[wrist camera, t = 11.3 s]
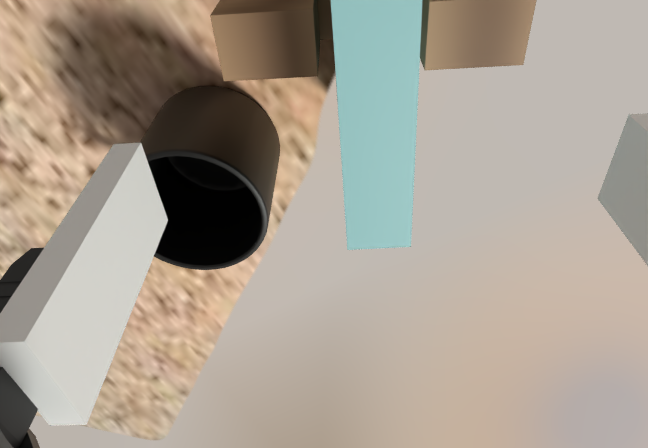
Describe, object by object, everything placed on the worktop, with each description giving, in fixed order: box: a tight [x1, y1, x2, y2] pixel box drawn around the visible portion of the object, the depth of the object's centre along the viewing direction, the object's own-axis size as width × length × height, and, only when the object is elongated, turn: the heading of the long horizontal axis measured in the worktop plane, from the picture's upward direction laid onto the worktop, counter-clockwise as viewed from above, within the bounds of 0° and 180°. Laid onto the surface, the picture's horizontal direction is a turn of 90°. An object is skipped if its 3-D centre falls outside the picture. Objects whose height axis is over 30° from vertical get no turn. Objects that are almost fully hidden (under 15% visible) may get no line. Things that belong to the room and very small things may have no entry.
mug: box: [140, 86, 280, 270], centre depth 33 cm, size 9×12×9 cm
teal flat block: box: [331, 0, 422, 250], centre depth 23 cm, size 16×3×15 cm, turn 4°
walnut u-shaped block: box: [210, 0, 536, 81], centre depth 25 cm, size 14×3×10 cm, turn 94°
